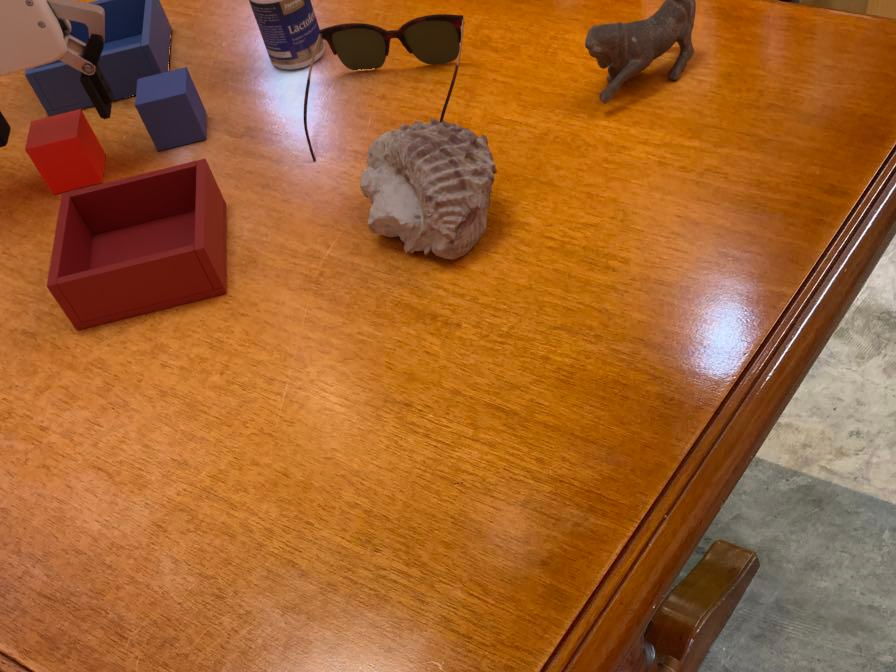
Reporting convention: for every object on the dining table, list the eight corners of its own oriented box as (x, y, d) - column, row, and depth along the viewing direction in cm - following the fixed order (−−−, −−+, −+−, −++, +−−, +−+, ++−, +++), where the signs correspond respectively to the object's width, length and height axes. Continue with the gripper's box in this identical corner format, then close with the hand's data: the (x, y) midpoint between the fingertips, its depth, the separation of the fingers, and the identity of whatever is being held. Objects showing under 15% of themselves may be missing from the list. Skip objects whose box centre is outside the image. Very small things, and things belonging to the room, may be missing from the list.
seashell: (326, 173, 86) (362, 62, 80) (421, 181, 92) (462, 78, 85) (398, 289, 80) (443, 179, 73) (495, 290, 86) (545, 189, 79)
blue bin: (48, 117, 105) (24, 74, 101) (60, 56, 112) (38, 14, 109) (168, 87, 105) (148, 44, 101) (172, 28, 112) (153, -14, 109)
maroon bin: (76, 330, 83) (46, 286, 80) (88, 237, 91) (61, 193, 87) (226, 293, 83) (203, 247, 80) (226, 203, 91) (205, 157, 87)
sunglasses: (475, 60, 99) (464, 11, 95) (455, 163, 92) (442, 114, 87) (333, 73, 102) (316, 26, 98) (303, 174, 94) (283, 128, 90)
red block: (52, 195, 96) (24, 149, 92) (57, 166, 99) (30, 121, 95) (102, 182, 96) (76, 136, 92) (106, 154, 99) (81, 108, 95)
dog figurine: (673, 39, 96) (669, -44, 90) (713, 61, 93) (712, -23, 87) (569, 93, 93) (558, 12, 87) (607, 118, 90) (598, 35, 84)
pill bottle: (311, 73, 102) (276, -30, 94) (262, 71, 104) (223, -31, 96) (335, 42, 105) (303, -60, 97) (287, 40, 107) (252, -61, 99)
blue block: (157, 151, 98) (134, 105, 94) (159, 125, 101) (137, 78, 97) (206, 139, 98) (185, 92, 94) (207, 113, 101) (186, 66, 97)
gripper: (49, -123, 82) (149, 79, 96) (-159, -66, 82) (-29, 127, 96) (38, -84, 77) (146, 122, 91) (-181, -24, 78) (-41, 172, 91)
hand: (56, 124), depth 93 cm, fingers open, 9 cm apart
